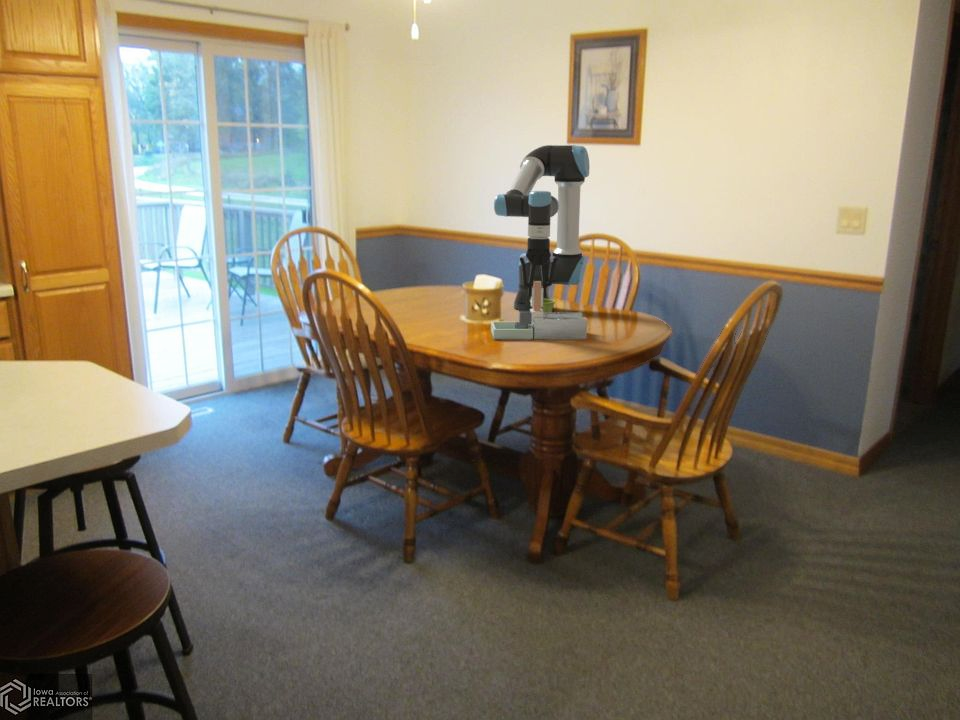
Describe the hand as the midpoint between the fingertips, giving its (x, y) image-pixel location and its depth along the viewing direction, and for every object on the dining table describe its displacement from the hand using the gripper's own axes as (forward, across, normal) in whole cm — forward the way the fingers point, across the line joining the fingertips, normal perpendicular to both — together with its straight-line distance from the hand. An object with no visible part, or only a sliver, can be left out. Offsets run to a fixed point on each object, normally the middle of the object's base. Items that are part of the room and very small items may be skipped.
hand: (536, 305), depth 277 cm
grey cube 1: (+6, -4, 0) cm, 7 cm away
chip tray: (+11, -8, 0) cm, 14 cm away
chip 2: (+8, -3, 0) cm, 9 cm away
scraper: (+5, 0, 0) cm, 5 cm away
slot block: (+11, +8, 0) cm, 13 cm away
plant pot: (+11, +5, +20) cm, 23 cm away
